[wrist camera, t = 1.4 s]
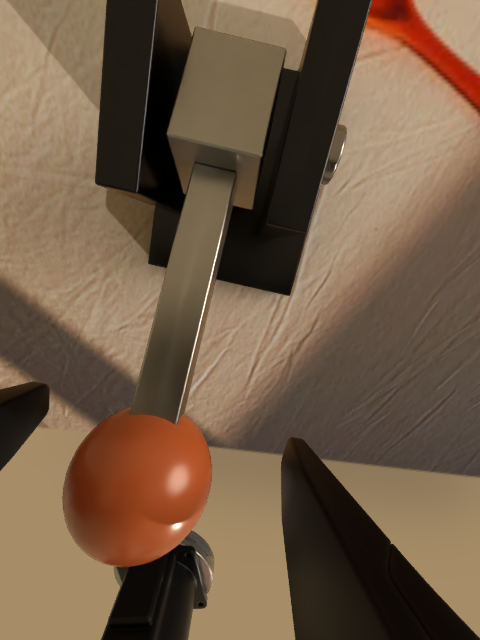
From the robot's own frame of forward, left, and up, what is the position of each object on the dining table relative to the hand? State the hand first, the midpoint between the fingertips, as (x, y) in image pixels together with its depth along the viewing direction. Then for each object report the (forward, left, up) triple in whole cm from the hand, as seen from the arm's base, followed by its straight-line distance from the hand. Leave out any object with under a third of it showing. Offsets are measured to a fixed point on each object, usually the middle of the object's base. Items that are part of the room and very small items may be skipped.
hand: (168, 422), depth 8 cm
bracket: (+8, -3, -9) cm, 12 cm away
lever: (+3, -1, -1) cm, 4 cm away
